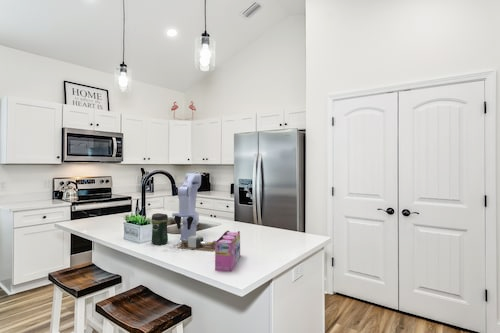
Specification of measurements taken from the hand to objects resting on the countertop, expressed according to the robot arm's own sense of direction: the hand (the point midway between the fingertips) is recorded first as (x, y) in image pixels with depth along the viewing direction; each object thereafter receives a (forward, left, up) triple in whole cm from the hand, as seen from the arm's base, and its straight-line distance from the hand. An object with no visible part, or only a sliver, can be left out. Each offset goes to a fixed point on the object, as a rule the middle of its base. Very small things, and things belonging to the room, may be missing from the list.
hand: (184, 229), depth 173 cm
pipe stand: (+10, 0, -10) cm, 14 cm away
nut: (+11, 0, -10) cm, 15 cm away
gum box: (+35, -19, -11) cm, 41 cm away
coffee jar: (-17, +2, -11) cm, 21 cm away
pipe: (+10, 0, -9) cm, 13 cm away
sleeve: (+7, 0, -10) cm, 12 cm away
